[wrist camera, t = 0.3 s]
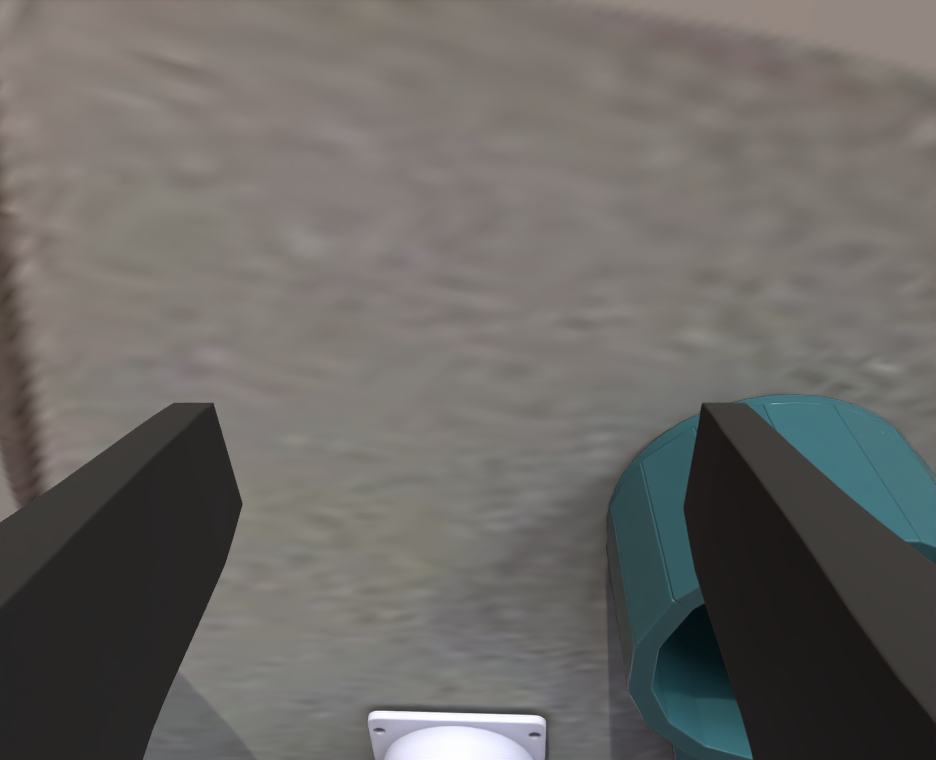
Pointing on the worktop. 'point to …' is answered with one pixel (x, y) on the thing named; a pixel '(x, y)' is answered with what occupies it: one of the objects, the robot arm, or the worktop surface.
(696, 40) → the worktop surface
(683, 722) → the pot
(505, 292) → the worktop surface
